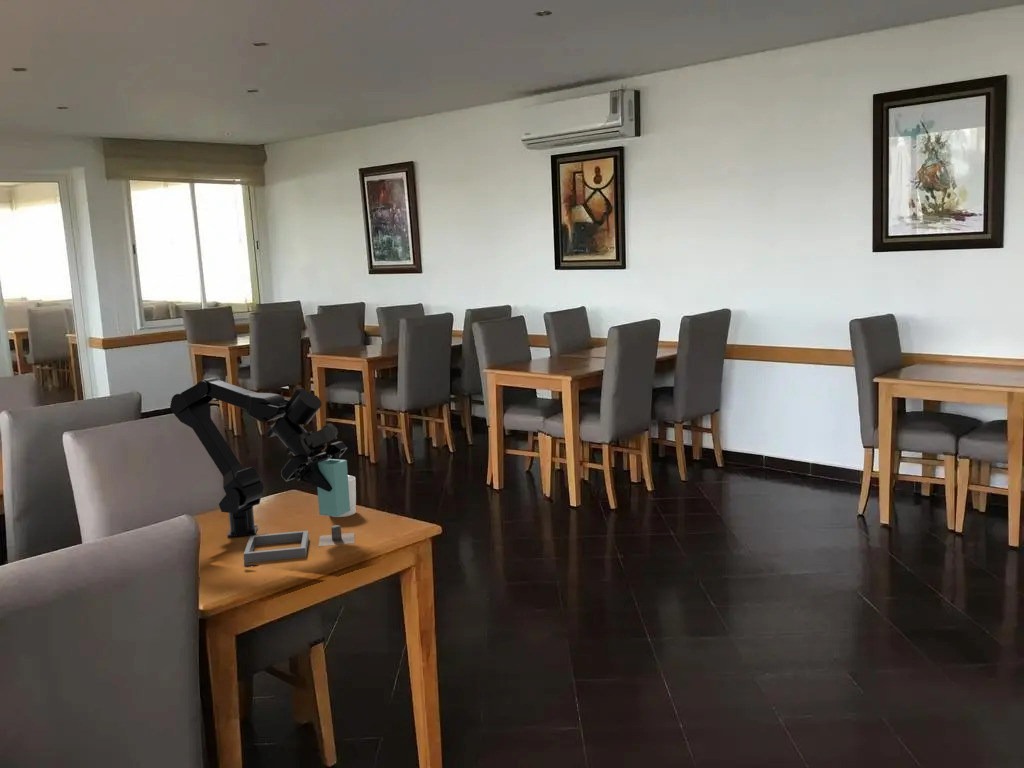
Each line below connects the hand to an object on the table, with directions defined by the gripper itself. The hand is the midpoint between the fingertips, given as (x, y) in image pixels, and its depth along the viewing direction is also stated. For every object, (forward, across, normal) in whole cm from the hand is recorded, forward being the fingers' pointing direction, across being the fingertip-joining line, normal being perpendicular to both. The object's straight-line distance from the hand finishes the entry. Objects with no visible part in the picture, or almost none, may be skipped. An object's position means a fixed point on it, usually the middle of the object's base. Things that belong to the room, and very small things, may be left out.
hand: (338, 487), depth 198 cm
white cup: (0, +19, +19) cm, 27 cm away
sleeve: (+3, 0, +5) cm, 6 cm away
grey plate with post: (+9, 0, +10) cm, 14 cm away
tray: (+3, -11, +16) cm, 20 cm away
